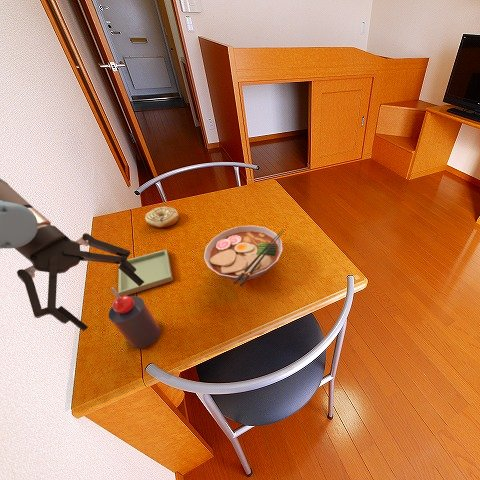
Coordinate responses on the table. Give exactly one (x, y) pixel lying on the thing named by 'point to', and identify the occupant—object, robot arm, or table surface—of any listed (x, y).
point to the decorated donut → (162, 217)
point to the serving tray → (146, 272)
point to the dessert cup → (134, 320)
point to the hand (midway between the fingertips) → (116, 305)
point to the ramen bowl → (243, 252)
